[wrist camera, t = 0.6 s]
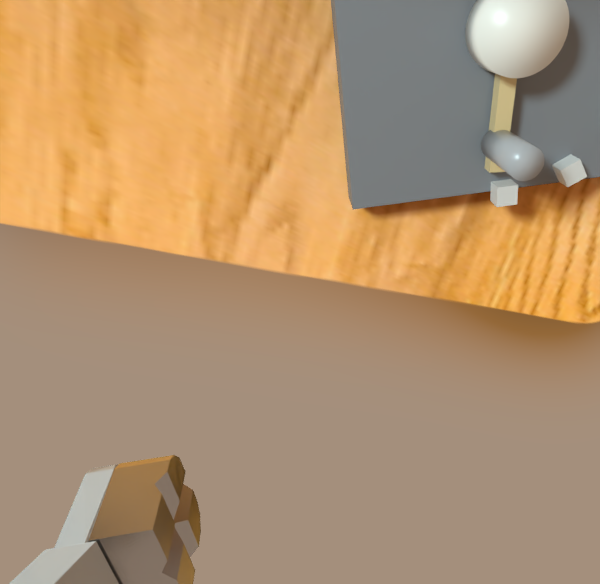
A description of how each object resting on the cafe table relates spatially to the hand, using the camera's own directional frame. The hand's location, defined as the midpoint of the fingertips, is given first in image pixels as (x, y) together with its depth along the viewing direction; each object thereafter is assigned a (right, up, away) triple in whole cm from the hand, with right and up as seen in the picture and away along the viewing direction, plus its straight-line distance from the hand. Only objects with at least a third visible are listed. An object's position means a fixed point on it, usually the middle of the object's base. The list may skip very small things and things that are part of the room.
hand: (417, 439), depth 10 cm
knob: (+13, +18, +32) cm, 39 cm away
